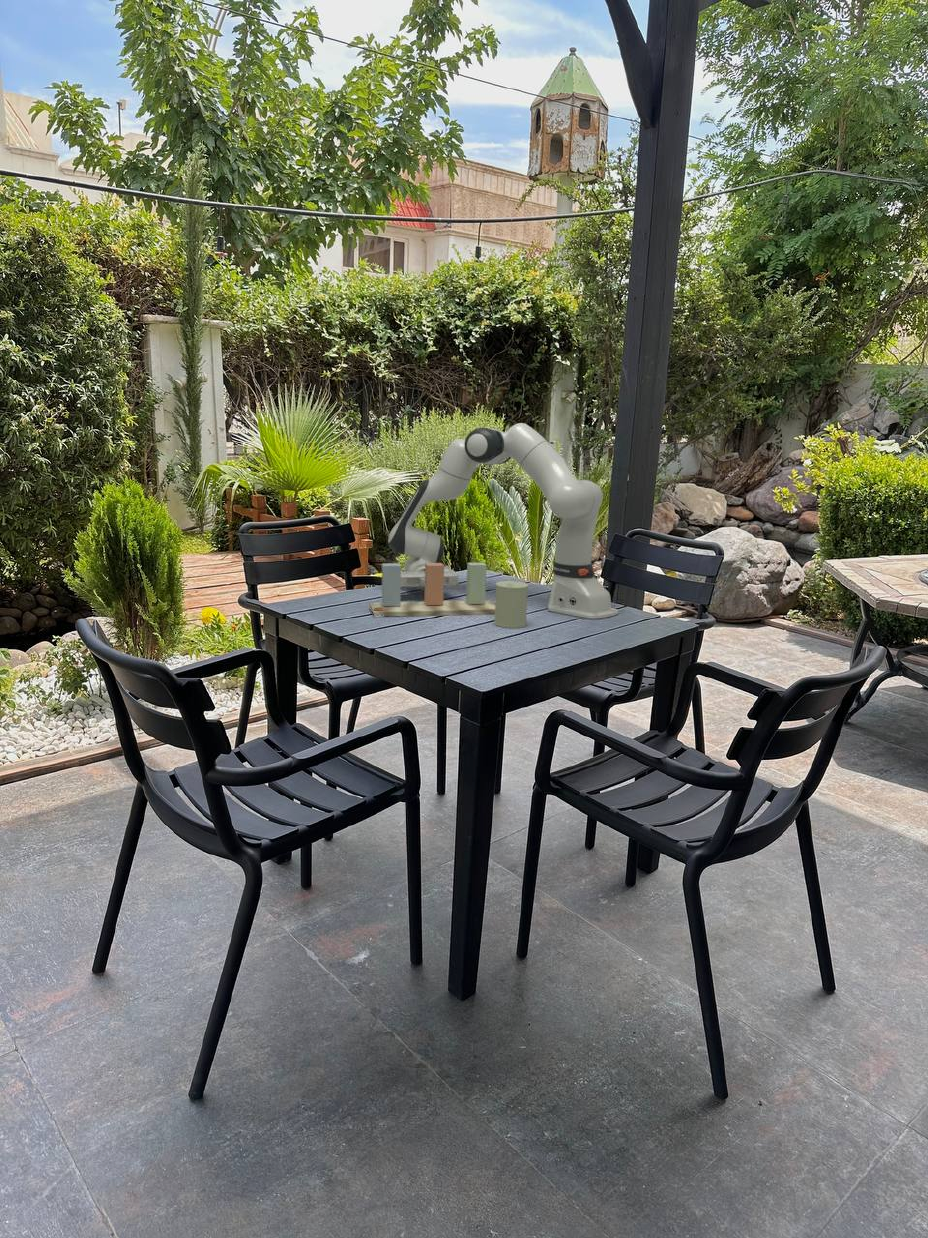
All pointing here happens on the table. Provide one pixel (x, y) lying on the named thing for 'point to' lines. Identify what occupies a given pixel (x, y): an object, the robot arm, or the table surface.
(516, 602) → the can
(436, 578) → the terracotta key
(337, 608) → the table surface
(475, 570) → the sage key
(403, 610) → the wooden board
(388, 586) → the slate key
